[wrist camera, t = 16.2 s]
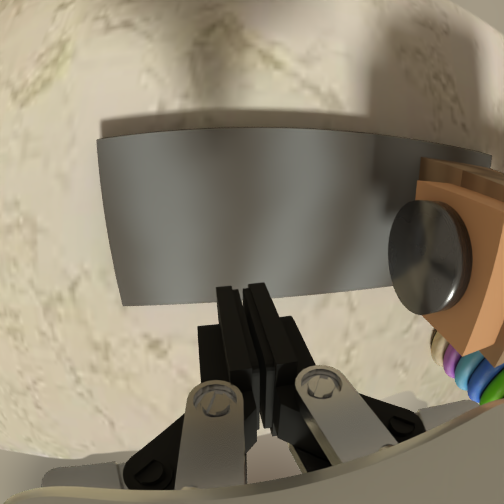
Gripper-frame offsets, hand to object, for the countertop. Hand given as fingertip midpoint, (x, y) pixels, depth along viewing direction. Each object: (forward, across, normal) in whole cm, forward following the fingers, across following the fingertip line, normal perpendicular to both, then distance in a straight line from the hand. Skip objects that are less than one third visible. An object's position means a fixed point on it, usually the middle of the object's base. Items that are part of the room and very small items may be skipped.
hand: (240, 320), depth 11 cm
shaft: (+3, -16, -1) cm, 16 cm away
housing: (+8, -7, -1) cm, 10 cm away
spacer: (+3, -11, -1) cm, 11 cm away
